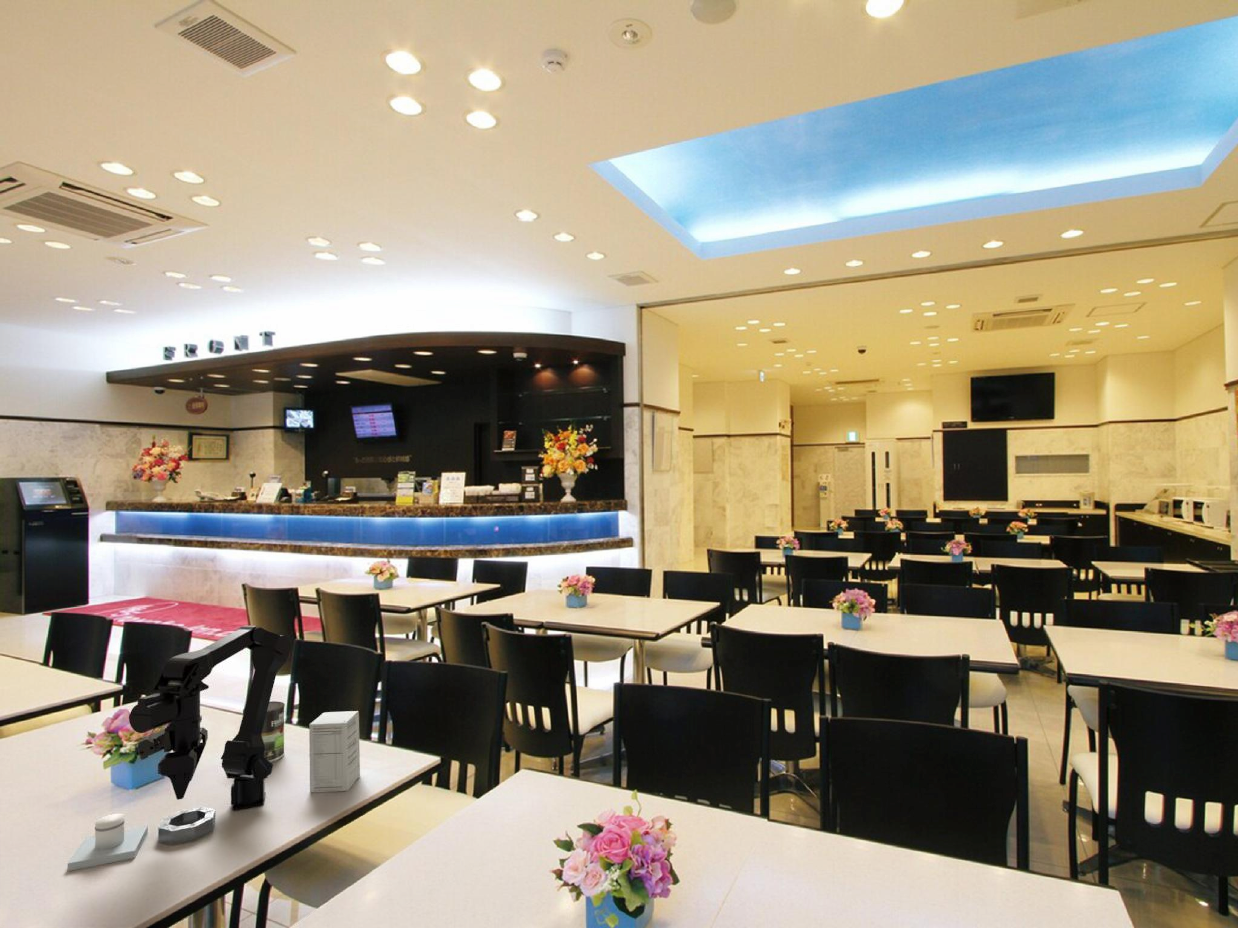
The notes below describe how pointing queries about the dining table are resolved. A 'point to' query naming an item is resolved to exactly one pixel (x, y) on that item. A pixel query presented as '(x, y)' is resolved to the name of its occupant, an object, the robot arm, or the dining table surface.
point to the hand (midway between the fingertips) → (184, 789)
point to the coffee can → (273, 731)
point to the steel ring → (186, 826)
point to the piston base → (110, 854)
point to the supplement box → (334, 751)
